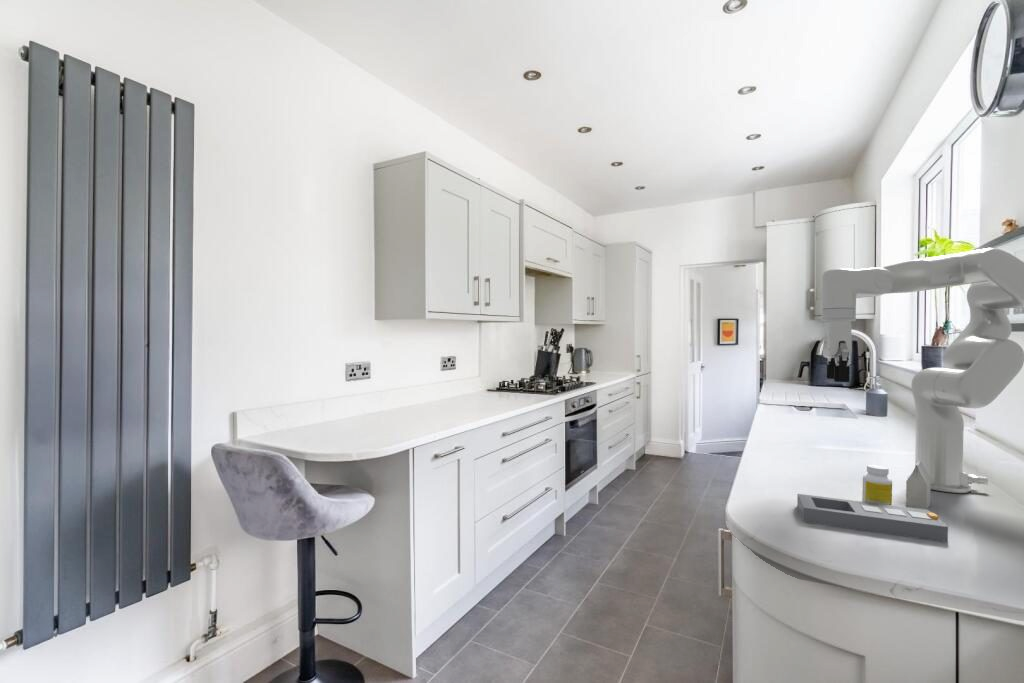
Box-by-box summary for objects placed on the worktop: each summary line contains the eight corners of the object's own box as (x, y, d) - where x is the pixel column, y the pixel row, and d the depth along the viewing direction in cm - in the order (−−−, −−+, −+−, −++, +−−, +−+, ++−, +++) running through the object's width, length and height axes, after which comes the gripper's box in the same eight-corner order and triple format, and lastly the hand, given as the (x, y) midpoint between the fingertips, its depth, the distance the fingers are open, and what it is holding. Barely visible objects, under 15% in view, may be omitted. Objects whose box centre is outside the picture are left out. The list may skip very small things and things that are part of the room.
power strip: (927, 523, 101) (928, 506, 101) (947, 542, 92) (948, 523, 91) (797, 506, 111) (797, 491, 111) (803, 521, 101) (803, 504, 101)
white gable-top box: (930, 503, 113) (931, 461, 113) (926, 510, 109) (927, 467, 109) (910, 499, 116) (911, 458, 116) (906, 506, 111) (906, 463, 111)
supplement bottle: (897, 514, 106) (897, 470, 106) (869, 512, 107) (870, 469, 107) (883, 505, 111) (884, 464, 111) (857, 503, 113) (858, 462, 112)
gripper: (816, 317, 135) (815, 377, 135) (828, 314, 119) (827, 382, 119) (847, 317, 132) (847, 378, 132) (864, 314, 116) (863, 383, 116)
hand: (837, 380), depth 125 cm, fingers open, 9 cm apart
